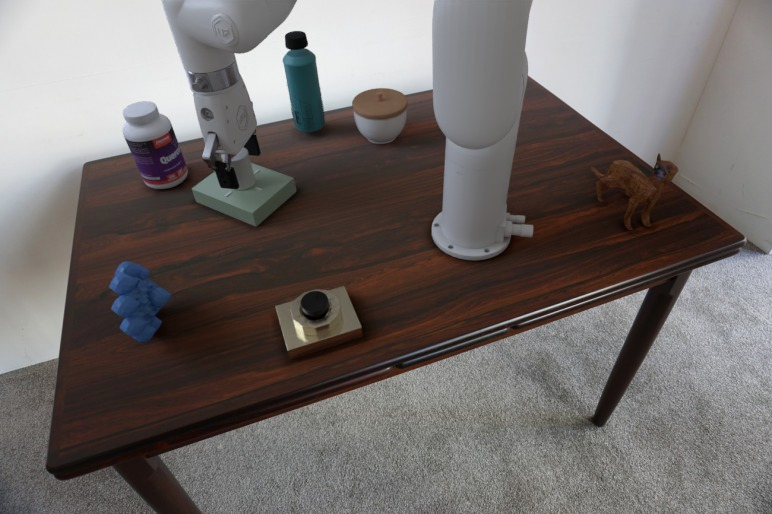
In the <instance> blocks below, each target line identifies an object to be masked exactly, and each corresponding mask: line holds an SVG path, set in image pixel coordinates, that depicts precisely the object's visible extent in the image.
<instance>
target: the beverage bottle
mask: <svg viewBox="0 0 772 514" xmlns="http://www.w3.org/2000/svg"><path fill="white" fill-rule="evenodd" d="M284 45H285V48H286V49H287V50H288V51H287V52H286V53H285V54H284V56H283V58H282V64H283V68H284V73H285V79H286V87H287V91H288V95H289V96H288V97H289V102H290V111H291V116H292V121H293V124H294V127H295V128H296V129H297V130H298V131H299V132H304V133H313V132H316V131H319V130H321V129H322V128H323V127H324V126H325V123H326V116H325V107H324V101H323V97H322V90H321V87H322V86H321V85H320V78H319V71H318V66H317V56H316V54H315V53H314V52H313V51H312V50H310V49H308V48H307V47H308V46H309V41H308V38H307V34H306V32H305V31H302V30H292V31H289V32H287V33H285V34H284Z"/></svg>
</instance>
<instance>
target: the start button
mask: <svg viewBox="0 0 772 514" xmlns="http://www.w3.org/2000/svg"><path fill="white" fill-rule="evenodd" d="M301 308H302V312H303V315H304V316H305V317H306V318H308V319H310V320H319V319H322V318H323V317H325V316H326V315H327V314H328V312H329V309H330V308H329V301H328V297H327V296H326V294H324V293H323V292H320V291H312V292H309V293H307V294H305V295H304V296H303V297H302V299H301Z"/></svg>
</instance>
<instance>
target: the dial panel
mask: <svg viewBox="0 0 772 514" xmlns="http://www.w3.org/2000/svg"><path fill="white" fill-rule="evenodd" d="M251 165H252V169H253V173H254V177H255V184H254V185H253V186H252V187H251V188H249V189H246V190H234V189H226V188H221V187H220V185H219V182H218V179H217V176H216V173H215V171H213V172H212V173H210V174H209V175H208V176H206V177H205V178H204V179H203V180H201V181H199V182H198V183H197V184H196V185H194V186H193V187H191V192H192V194H193V197H194V200H195V202H196V203H198V204H200V205H202V206H205V207H207V208H209V209H212V210H214V211H217V212H220V213H222V214H224V215H226V216H229V217H232V218H233V219H237V220H238V221H241V222H243V223H246V224H248V225H250V226H252V227H255V228H256V227H258V226H259V225H260V224H261V223H263V222H264V221H265V220H266V219H267V218H268V217H269V216H270V215H271V214H273V213H274V212H275V211H276V210H277V209H278V208H280V207H281V206H282V205H283V204H284V203H286V201H288V200H289V199H290V198H291V197H292V196H293V195H294V194H296V192H297V187H296V182H295V178H294V177H292V176H290V175H287V174H284V173H281V172H278V171H277V170H276V171H275V170H273V169H270V168H267V167H264V166H261V165H258V164H256V163H253V162H251Z"/></svg>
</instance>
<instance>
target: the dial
mask: <svg viewBox="0 0 772 514" xmlns="http://www.w3.org/2000/svg"><path fill="white" fill-rule="evenodd" d="M220 157H221V161H222V162H225V154H220ZM251 163H252V162H251V158H250V155H249V154H248V150H247V149H246V148H244V147H243V148H242V149H241V151H240V152H239V153H238V154H236V155H233V154H232V156H231V167H234V170H235V173H236V176H237V179H238V183H239V188H238V189H234V190H246V189H249V188H251V187H252V186H253V185H254V184H255V177H254V173H253V169H252V165H251Z"/></svg>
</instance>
